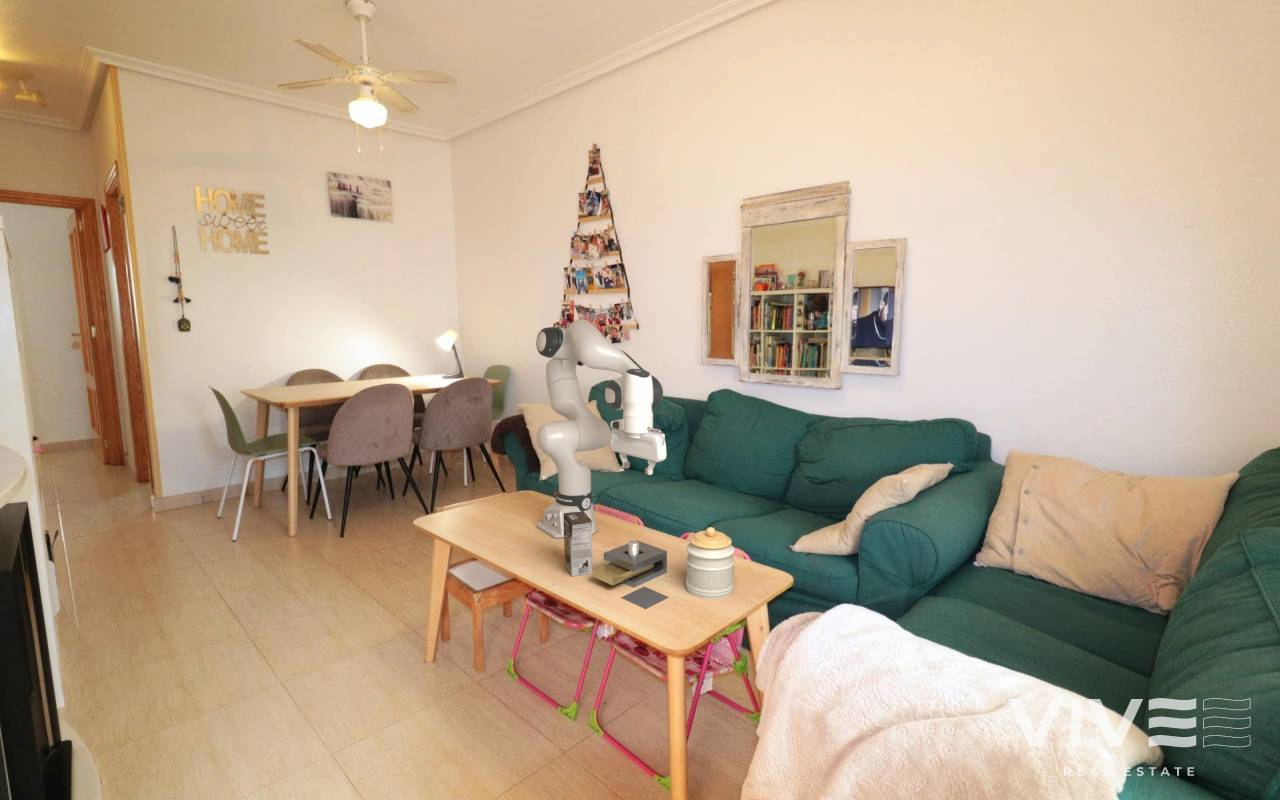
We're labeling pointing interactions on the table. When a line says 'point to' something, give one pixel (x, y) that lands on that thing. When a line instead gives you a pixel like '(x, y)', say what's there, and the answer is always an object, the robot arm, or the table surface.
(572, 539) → the coffee box
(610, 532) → the table surface
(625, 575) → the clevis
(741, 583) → the table surface
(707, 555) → the jar
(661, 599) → the mat
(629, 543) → the pin
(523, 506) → the table surface
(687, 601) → the table surface
